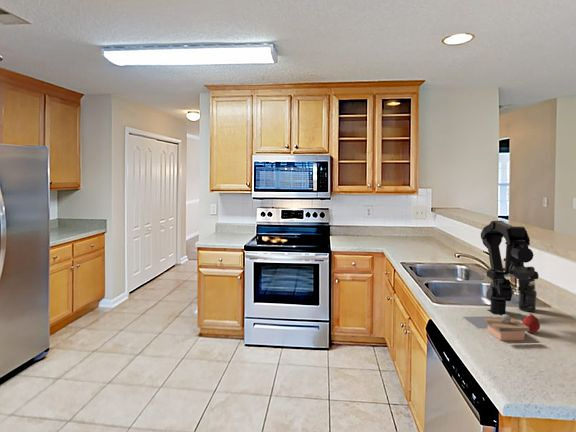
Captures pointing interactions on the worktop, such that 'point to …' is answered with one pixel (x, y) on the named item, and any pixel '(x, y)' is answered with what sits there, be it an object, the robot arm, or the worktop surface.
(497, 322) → the walnut lid
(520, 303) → the supplement bottle
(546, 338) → the worktop surface
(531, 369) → the worktop surface
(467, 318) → the rubber mat
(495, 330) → the terracotta dish
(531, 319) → the onion
